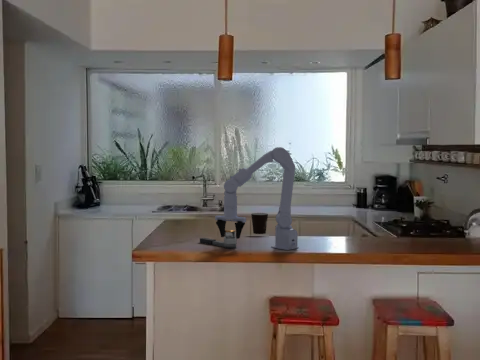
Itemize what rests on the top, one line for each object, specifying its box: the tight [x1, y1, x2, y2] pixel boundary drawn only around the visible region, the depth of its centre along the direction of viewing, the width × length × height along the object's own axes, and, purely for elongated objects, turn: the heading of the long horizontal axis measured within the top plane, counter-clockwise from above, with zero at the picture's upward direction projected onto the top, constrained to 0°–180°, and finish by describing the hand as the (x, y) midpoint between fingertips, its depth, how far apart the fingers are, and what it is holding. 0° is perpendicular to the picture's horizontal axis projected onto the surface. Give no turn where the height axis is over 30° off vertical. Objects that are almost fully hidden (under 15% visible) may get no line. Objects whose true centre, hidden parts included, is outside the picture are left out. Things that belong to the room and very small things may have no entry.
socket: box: [223, 229, 238, 245], centre depth 240 cm, size 5×5×6 cm
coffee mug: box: [250, 212, 269, 235], centre depth 283 cm, size 12×9×10 cm
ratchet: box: [199, 237, 237, 250], centre depth 246 cm, size 22×5×4 cm, turn 45°
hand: (230, 237), depth 240 cm, fingers open, 7 cm apart
